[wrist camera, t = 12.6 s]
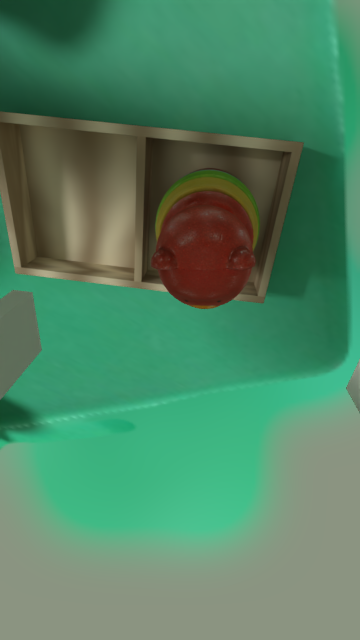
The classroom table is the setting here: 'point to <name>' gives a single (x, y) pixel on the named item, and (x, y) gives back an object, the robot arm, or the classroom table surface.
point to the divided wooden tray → (124, 194)
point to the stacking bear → (206, 238)
